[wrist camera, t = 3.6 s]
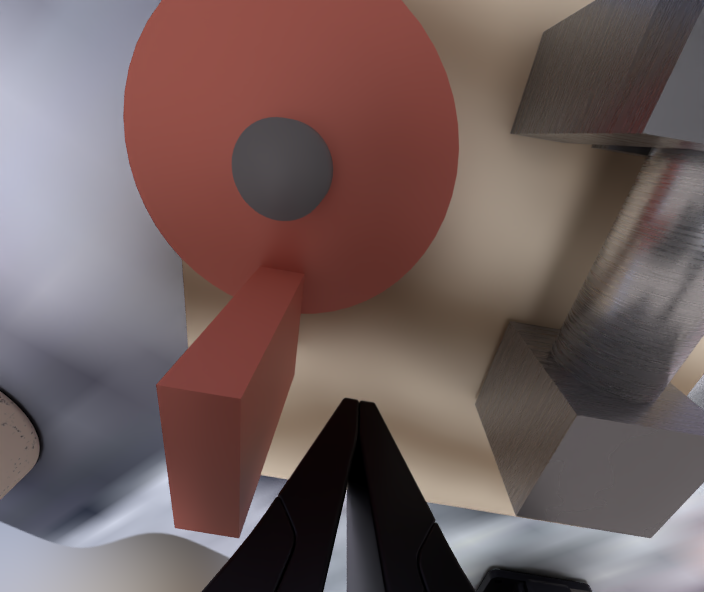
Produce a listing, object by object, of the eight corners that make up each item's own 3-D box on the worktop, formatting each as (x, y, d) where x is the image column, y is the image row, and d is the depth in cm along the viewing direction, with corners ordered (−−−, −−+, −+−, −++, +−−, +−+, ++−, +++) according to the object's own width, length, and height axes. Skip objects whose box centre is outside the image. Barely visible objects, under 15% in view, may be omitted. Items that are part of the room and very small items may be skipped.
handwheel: (131, -61, 8) (-536, -597, 2) (493, 3, 8) (803, -341, 2) (170, 333, 13) (-1, 499, 7) (395, 370, 13) (411, 565, 7)
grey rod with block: (570, 420, 14) (650, 538, 10) (474, 404, 14) (515, 515, 10) (873, -84, 7) (1494, -354, 3) (692, -116, 7) (1093, -433, 3)
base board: (572, 504, 18) (584, 527, 17) (207, 444, 18) (196, 464, 17) (881, 70, 10) (945, 61, 8) (182, -55, 9) (157, -79, 8)
